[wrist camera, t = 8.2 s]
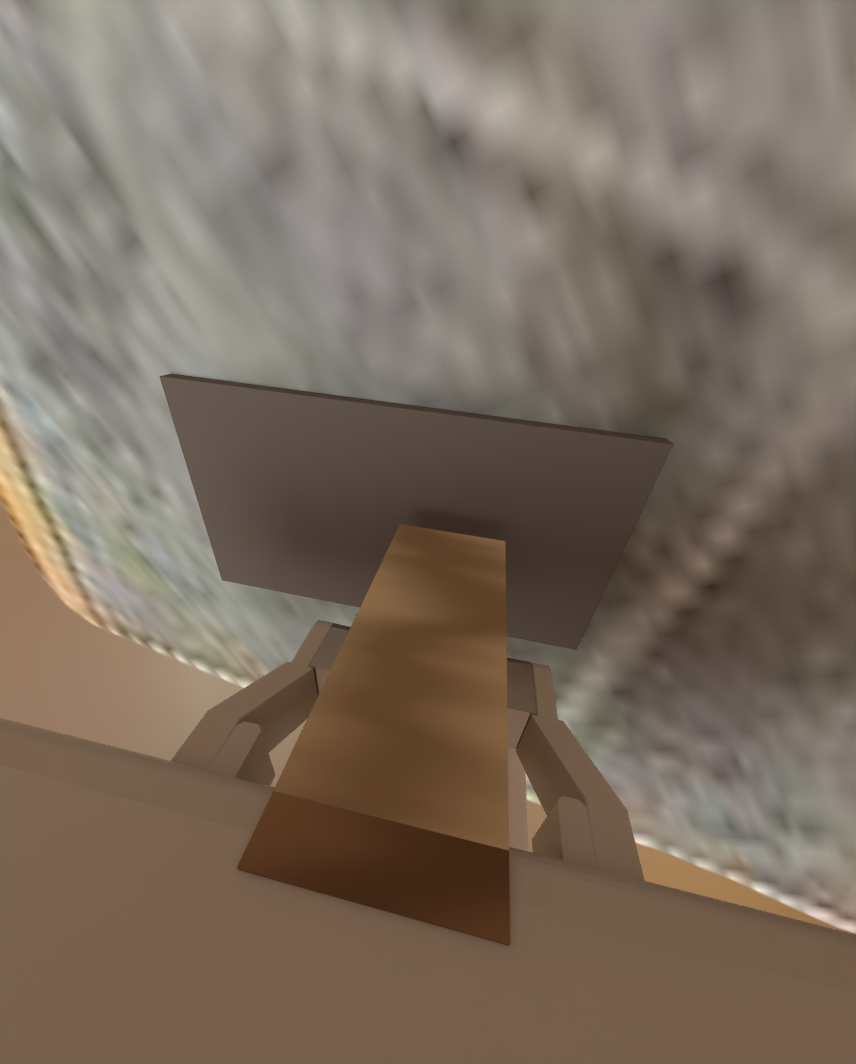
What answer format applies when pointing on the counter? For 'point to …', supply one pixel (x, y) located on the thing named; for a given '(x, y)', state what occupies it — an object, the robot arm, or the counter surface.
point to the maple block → (407, 748)
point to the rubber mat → (408, 494)
